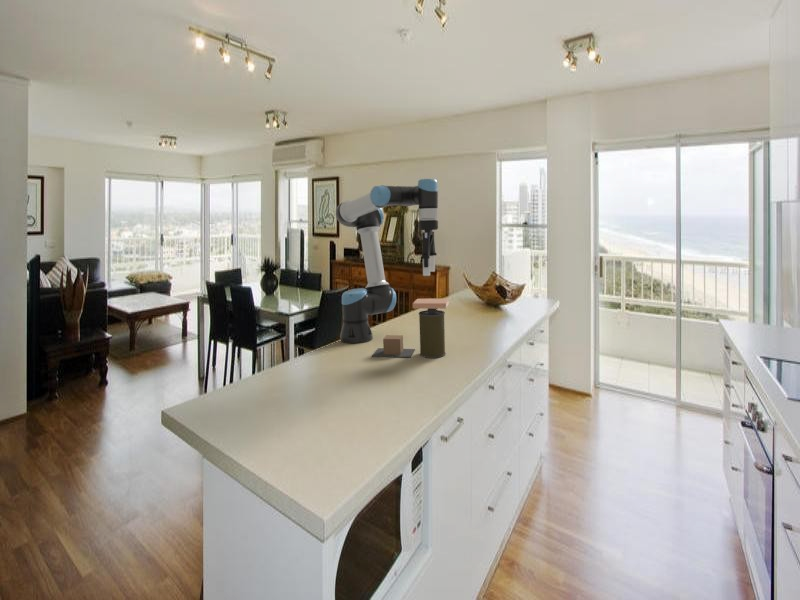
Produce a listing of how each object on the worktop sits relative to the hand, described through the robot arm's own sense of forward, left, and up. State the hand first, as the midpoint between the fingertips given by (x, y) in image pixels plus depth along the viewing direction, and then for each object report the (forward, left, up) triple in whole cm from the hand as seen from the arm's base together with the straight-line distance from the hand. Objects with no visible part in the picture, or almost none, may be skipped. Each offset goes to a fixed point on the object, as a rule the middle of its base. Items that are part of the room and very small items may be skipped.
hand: (429, 273), depth 173 cm
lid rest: (-8, -13, -33) cm, 36 cm away
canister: (+3, -1, -33) cm, 33 cm away
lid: (+3, -1, -13) cm, 13 cm away
